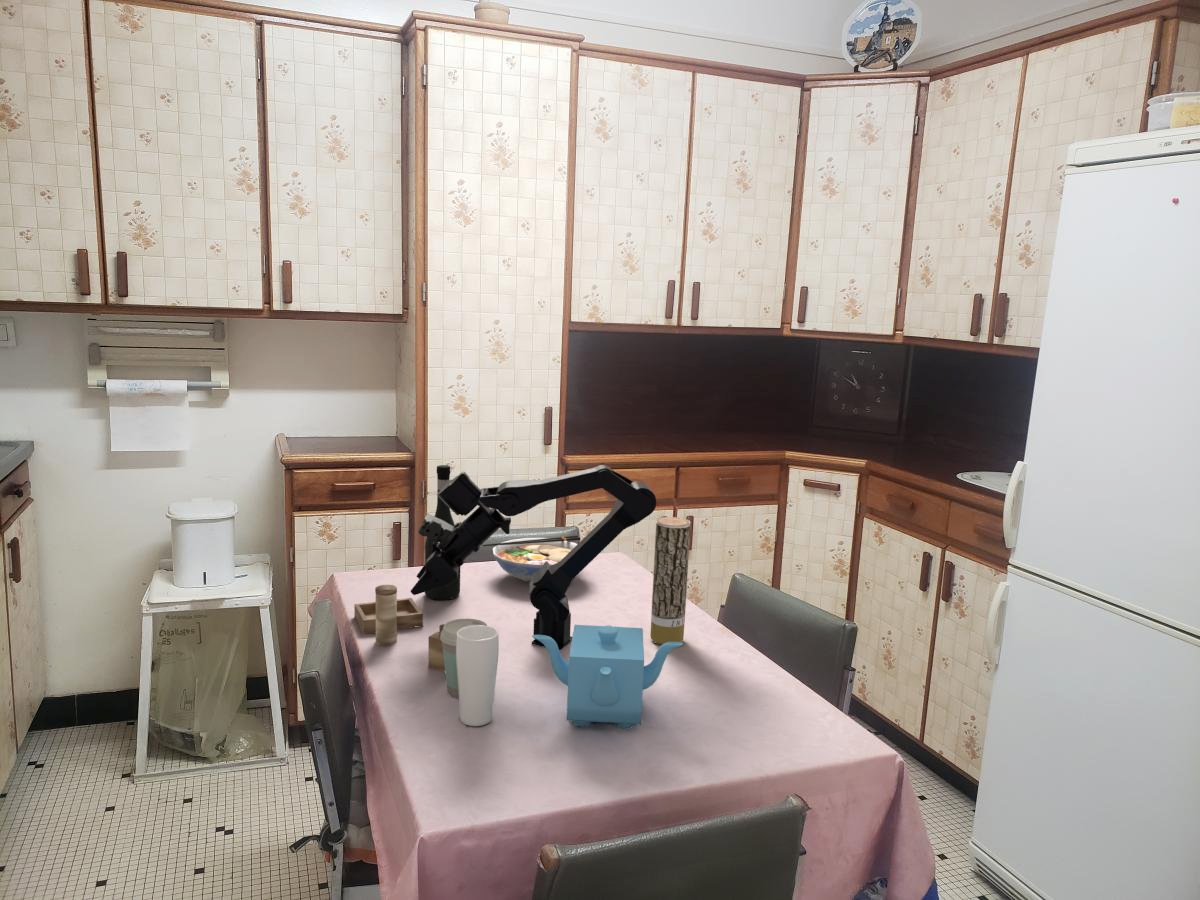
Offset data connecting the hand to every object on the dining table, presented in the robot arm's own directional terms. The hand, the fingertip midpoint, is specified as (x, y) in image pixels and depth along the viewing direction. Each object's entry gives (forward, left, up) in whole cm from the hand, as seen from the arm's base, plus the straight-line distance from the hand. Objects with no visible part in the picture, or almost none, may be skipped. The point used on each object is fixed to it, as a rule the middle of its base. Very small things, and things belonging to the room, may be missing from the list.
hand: (415, 585), depth 172 cm
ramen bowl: (-4, -46, -12) cm, 48 cm away
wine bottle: (+10, -25, -12) cm, 30 cm away
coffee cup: (-20, +15, -12) cm, 27 cm away
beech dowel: (+5, +3, -12) cm, 13 cm away
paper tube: (-44, -24, -12) cm, 52 cm away
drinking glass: (-27, +23, -12) cm, 37 cm away
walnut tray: (+11, -6, -12) cm, 17 cm away
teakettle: (-45, +12, -12) cm, 48 cm away
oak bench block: (-14, +8, -12) cm, 20 cm away
